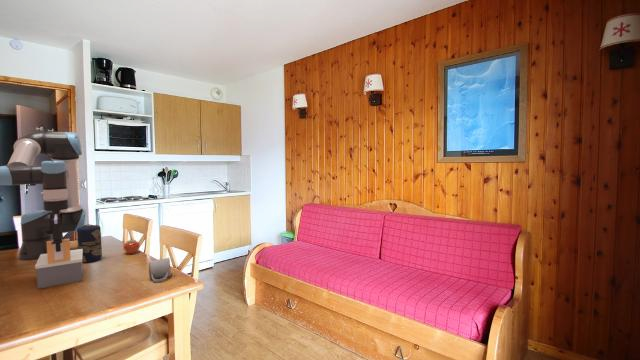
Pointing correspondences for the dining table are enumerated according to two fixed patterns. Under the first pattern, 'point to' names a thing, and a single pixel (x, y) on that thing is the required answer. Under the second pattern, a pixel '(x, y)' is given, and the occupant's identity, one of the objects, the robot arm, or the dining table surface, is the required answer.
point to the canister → (90, 242)
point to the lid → (68, 258)
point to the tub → (59, 275)
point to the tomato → (131, 246)
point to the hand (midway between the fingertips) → (59, 258)
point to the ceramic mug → (159, 269)
